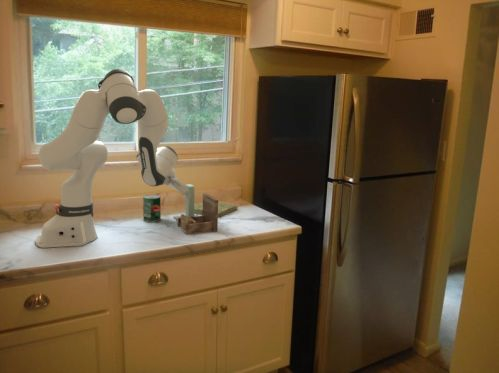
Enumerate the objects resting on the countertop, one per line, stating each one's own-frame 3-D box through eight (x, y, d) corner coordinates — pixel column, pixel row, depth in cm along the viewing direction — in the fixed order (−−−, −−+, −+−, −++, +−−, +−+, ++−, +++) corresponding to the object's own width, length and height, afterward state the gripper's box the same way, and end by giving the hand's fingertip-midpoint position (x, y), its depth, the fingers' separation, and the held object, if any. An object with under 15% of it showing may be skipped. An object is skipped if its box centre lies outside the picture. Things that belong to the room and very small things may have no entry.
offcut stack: (186, 233, 185) (187, 219, 184) (180, 227, 192) (180, 214, 191) (196, 231, 187) (196, 218, 186) (189, 226, 194) (190, 213, 193)
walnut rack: (187, 235, 182) (187, 202, 179) (176, 225, 194) (176, 195, 191) (217, 231, 188) (218, 200, 185) (205, 222, 200) (206, 193, 198)
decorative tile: (237, 210, 226) (237, 203, 226) (216, 219, 209) (216, 212, 208) (207, 205, 235) (207, 198, 234) (185, 213, 218) (185, 206, 217)
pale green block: (188, 220, 201) (189, 186, 198) (185, 217, 206) (185, 184, 202) (194, 219, 202) (194, 186, 199) (190, 217, 207) (190, 184, 204)
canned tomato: (145, 216, 207) (145, 194, 205) (161, 217, 207) (161, 194, 205) (141, 221, 199) (141, 198, 197) (159, 221, 199) (159, 198, 197)
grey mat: (181, 224, 196) (181, 223, 196) (173, 217, 207) (173, 216, 207) (206, 222, 202) (206, 220, 202) (197, 215, 212) (197, 214, 212)
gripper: (178, 174, 187) (199, 194, 193) (164, 166, 204) (183, 185, 211) (168, 184, 185) (189, 205, 192) (154, 176, 203) (175, 195, 210)
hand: (186, 194), depth 202 cm, fingers open, 8 cm apart
